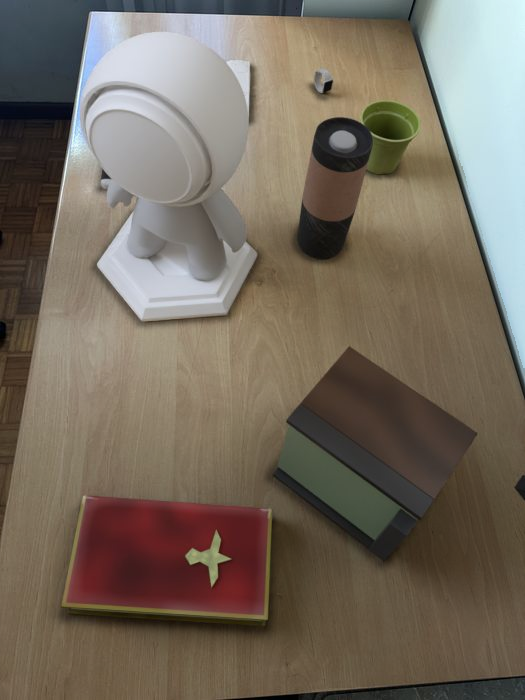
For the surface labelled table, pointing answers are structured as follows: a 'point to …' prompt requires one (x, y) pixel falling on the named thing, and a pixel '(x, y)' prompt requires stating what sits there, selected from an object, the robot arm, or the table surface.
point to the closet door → (346, 493)
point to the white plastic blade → (242, 76)
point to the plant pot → (389, 133)
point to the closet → (379, 437)
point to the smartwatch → (327, 80)
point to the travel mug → (333, 185)
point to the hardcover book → (170, 561)
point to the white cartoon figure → (170, 173)
